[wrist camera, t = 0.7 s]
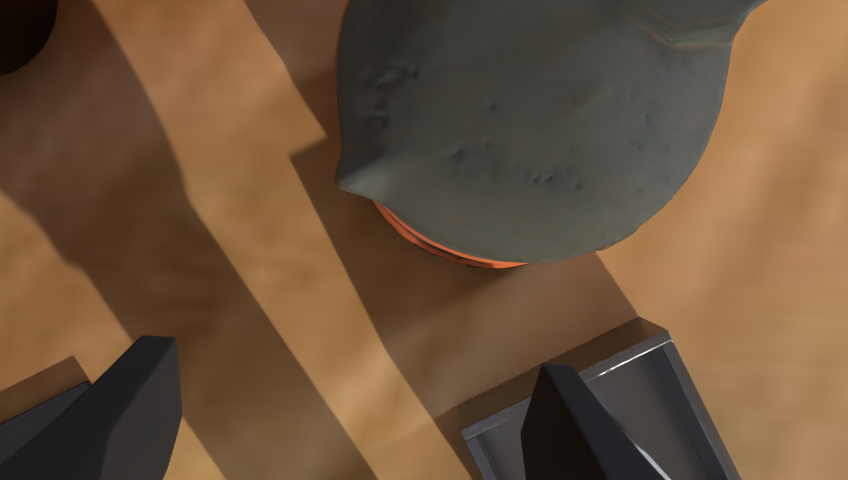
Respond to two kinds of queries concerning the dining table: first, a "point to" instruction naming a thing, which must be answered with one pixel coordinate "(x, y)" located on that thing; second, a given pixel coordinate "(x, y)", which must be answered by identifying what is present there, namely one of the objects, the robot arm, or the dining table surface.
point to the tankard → (527, 117)
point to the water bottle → (23, 30)
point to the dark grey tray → (609, 407)
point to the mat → (35, 421)
